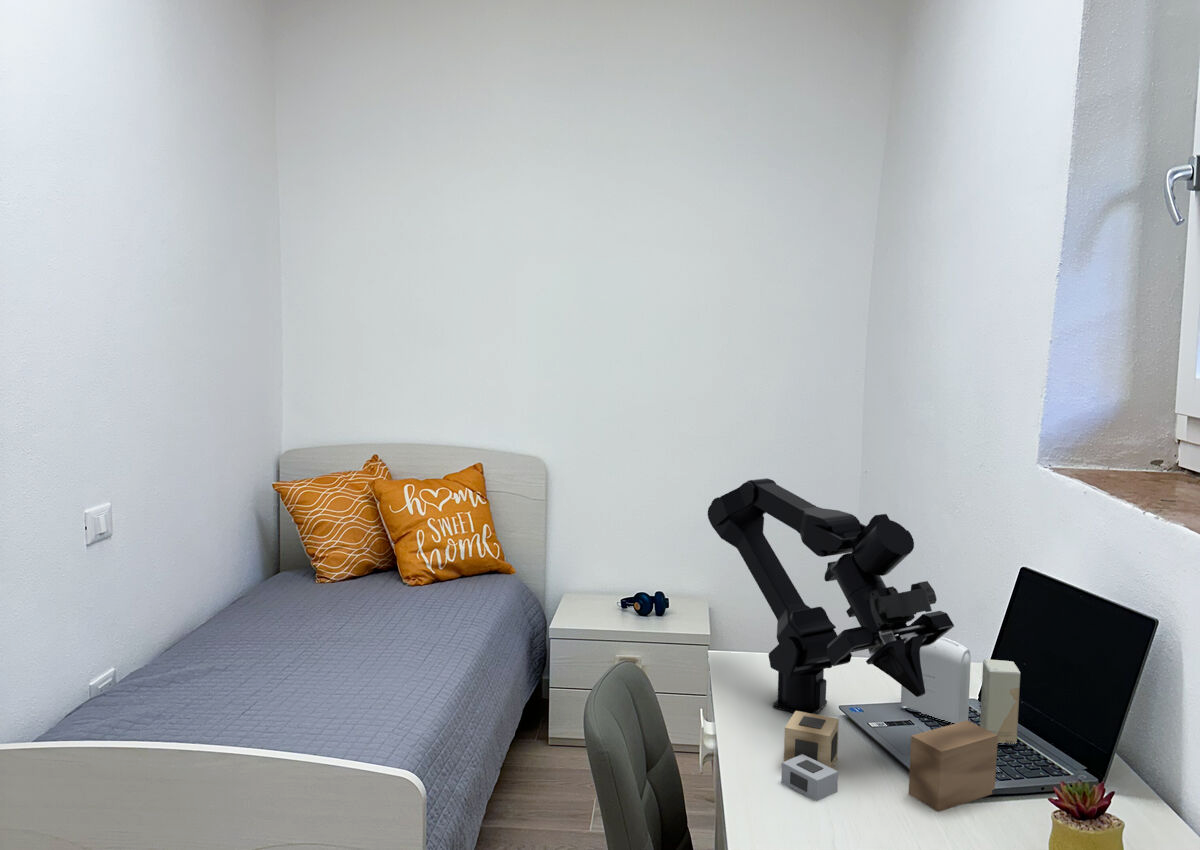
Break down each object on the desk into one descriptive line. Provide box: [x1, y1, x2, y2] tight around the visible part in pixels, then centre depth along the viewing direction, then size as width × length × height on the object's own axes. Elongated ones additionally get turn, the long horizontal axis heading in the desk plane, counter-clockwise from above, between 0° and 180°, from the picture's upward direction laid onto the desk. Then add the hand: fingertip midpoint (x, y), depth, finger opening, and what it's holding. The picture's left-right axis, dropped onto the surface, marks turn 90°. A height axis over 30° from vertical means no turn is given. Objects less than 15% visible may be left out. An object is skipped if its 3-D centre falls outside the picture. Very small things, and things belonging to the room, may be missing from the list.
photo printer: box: [900, 636, 972, 724], centre depth 150 cm, size 10×4×12 cm, turn 47°
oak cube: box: [783, 711, 840, 769], centre depth 134 cm, size 6×6×6 cm
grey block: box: [781, 754, 839, 802], centre depth 128 cm, size 6×4×3 cm
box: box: [979, 658, 1021, 744], centre depth 142 cm, size 5×4×11 cm
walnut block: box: [907, 719, 998, 813], centre depth 126 cm, size 5×10×8 cm, turn 118°
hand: (921, 695), depth 130 cm, fingers closed
